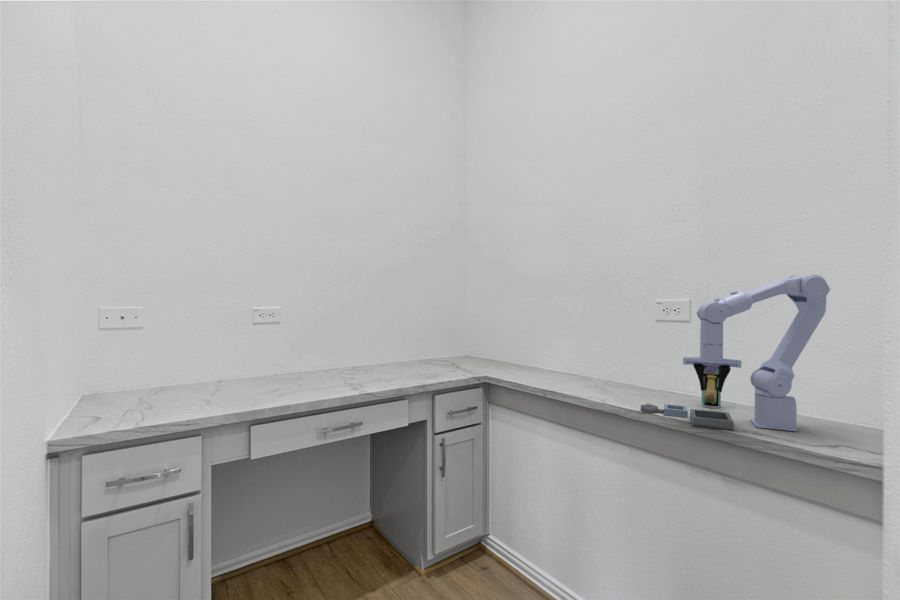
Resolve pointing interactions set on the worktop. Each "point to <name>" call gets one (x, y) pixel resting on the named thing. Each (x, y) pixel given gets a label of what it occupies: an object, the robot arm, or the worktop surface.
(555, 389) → the worktop surface
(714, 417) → the tray
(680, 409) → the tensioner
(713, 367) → the spray can
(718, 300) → the robot arm
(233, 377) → the worktop surface
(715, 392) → the pin
